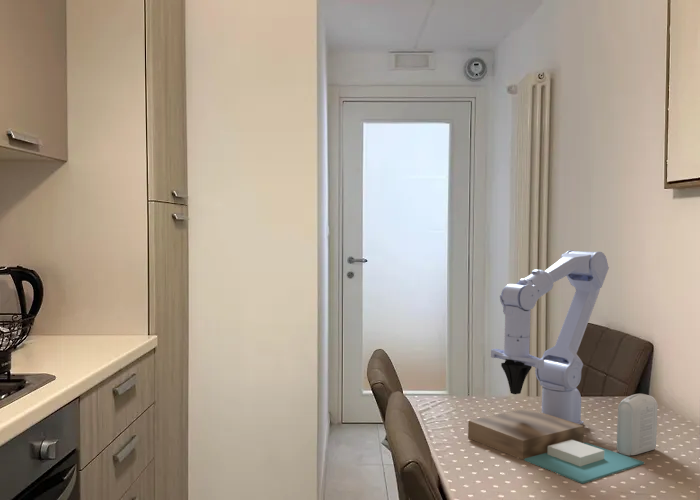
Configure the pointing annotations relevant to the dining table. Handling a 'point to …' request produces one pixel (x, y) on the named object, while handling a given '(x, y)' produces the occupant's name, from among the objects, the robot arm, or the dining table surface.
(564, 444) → the coaster
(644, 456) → the dining table surface
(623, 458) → the mat
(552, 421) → the wood grain panel
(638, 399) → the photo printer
